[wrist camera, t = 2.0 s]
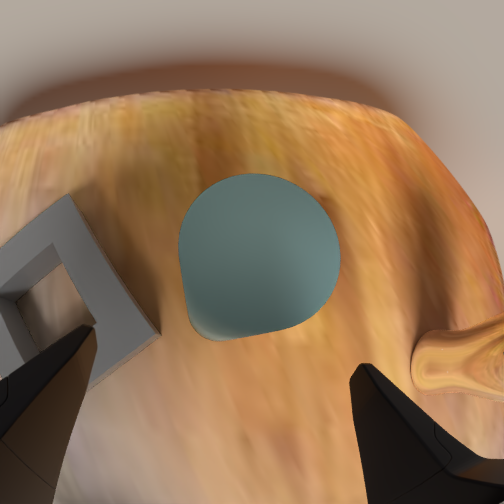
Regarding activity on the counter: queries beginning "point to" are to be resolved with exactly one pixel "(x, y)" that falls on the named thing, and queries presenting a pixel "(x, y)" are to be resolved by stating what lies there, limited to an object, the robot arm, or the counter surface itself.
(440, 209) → the counter surface
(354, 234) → the counter surface
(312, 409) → the counter surface
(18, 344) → the socket block
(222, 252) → the peg
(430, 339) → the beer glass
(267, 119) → the counter surface
